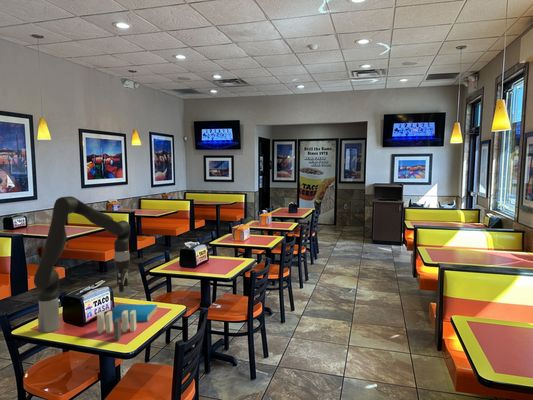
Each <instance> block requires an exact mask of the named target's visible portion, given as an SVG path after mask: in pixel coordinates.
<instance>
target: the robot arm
mask: <svg viewBox="0 0 533 400" xmlns="http://www.w3.org/2000/svg"><path fill="white" fill-rule="evenodd" d="M70 214H71V215H72V214H77V215H79V216H83V217H84V218H85V219H87V220H88V221H89V222H90V223H92V224H93V225H95V226H98V227H100V228H102V229H105V230H106V231H107V232H108V233H110V234H111V235H114V236H117V237H116V240H114V243H113V245H114V246H113V248H114V269H116V270H118V272H117V273H116V285H117V286H118V291H119V293H122V292H124V290H125V287H128V286H129V281H128V280H129V276H130V274H129V273H130V271H129V270H130V267H131V259H130V257H131V255H130V247H129V241H130V236H131V226H130V223H129V222H128V221H126V220H119V221H116V220H114V219H113V217H112V216H111V215H109V214H106V213H104V212H101V211H99V210H97V209H95V208H93V207H91V206H89V205H87V204H86V203H84V202H83V201H82V200H79V199H78V198H76V197H74V196H69V195H68V196H61V197H59V198H57V199H56V200H55V202H54V205H53V209H52V214H51V215H52V216H51V222H50V225H49V229H48V233H47V236H46V240H45V244H44V248H43V251H42V255H41V258H40V261H39V264H38V267H37V269H36V272H35V274H34V276H33V284H34V286H35V288H37V289H39V290H41V291H40V293H39V294H38V299H37V301H38V311H39V312H38V314H37V320H38V321H37V322H38V323H37V324H38V332H40V333H44V334H45V333H52V332H55V331H58V330H59V329H60V327H61V322H60V320H61V319H60V309H59V308H60V305H59V292H60V275H59V272H58V271H57V270H56V268H54V266H55V264H56V263H57V261H58V260H59V258H60V257H61V255H62V254H63V251H64V250H65V246H66V243H67V238H68V236H67V235H68V234H67V231H66V221H67V219H68V218H67V217H68V216H69V215H70Z"/></svg>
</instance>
